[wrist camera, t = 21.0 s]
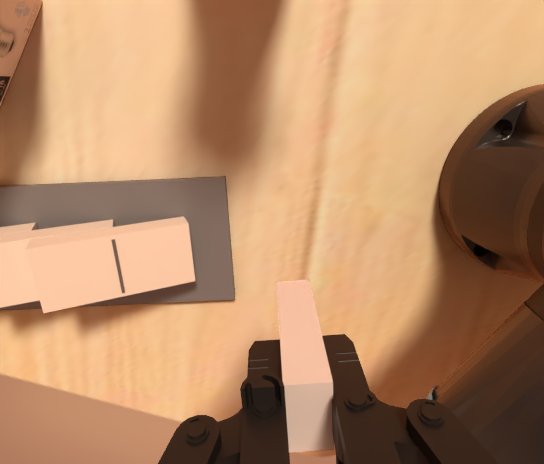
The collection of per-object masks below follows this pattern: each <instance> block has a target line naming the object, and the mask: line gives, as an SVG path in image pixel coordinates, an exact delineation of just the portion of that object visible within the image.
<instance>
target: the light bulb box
mask: <svg viewBox="0 0 544 464" xmlns="http://www.w3.org/2000/svg"><path fill="white" fill-rule="evenodd" d="M41 5H42V0H0V106H1V104H2V101H3V99H4V96H5V94H6V91H7V89H8V86H9V84H10V82H11V79H12V77H13V74H14V72H15V69H16V67H17V64H18V62H19V60H20V57H21V55H22V52H23V50H24V47H25V45H26V42H27V40H28V37H29V35H30V32H31V30H32V28H33V25H34V23H35V20H36V18H37V15H38V13H39V10H40V8H41Z"/></svg>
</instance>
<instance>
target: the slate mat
mask: <svg viewBox="0 0 544 464" xmlns="http://www.w3.org/2000/svg"><path fill="white" fill-rule="evenodd" d="M182 216H184V217H185V219H186V220H187V222H188V224H189V232H190V240H191V249H192V257H193V265H194V274H195V281H194V282H189V283H184V284H179V285H175V286H170V287H165V288H161V289H156V290H151V291H146V292H142V293H137V294H132V295H128V296H123V297H118V298H113V299H109V300H104V301H99V302H95V303H90V304H85V305H80V306H76V307H84V306H106V305H128V304H149V303H171V302H192V301H214V300H235V288H234V276H233V263H232V251H231V239H230V226H229V214H228V202H227V189H226V177H202V178H179V179H155V180H131V181H108V182H84V183H61V184H37V185H13V186H0V227H6V226H13V225H20V224H28V223H35V222H36V224H37V228H38V229H46V228H53V227H60V226H68V225H75V224H82V223H90V222H97V221H104V220H112V219H113V222H114V227H116V226H123V225H130V224H136V223H143V222H149V221H156V220H162V219H169V218H176V217H182ZM41 308H42V306H41V303H40V300H39V301H33V302H28V303H23V304H17V305H12V306H7V307H2V308H0V310H20V309H41Z"/></svg>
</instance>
